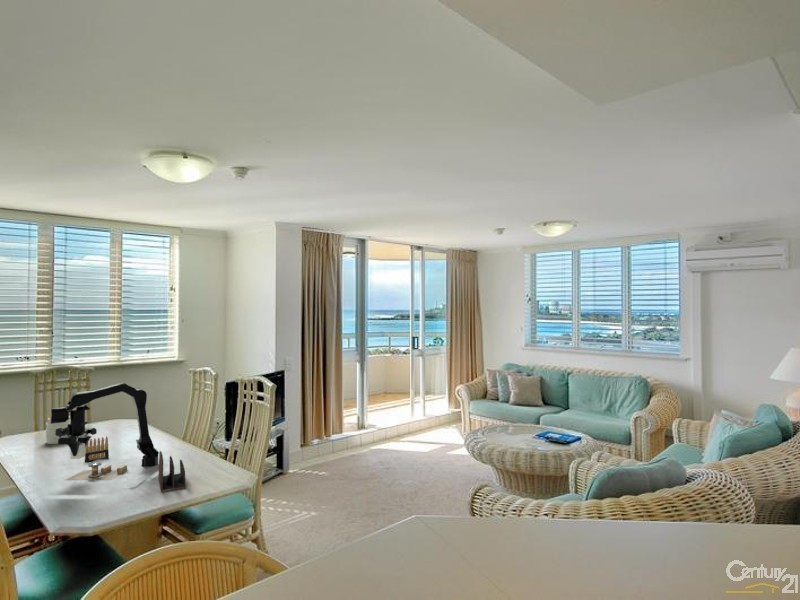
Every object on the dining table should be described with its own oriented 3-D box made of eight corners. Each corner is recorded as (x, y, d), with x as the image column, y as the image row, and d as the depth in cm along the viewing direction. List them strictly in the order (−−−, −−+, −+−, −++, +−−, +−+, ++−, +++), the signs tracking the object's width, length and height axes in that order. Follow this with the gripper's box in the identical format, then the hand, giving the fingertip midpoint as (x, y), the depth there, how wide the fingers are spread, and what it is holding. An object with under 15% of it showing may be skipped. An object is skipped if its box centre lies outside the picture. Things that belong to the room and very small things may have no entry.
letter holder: (160, 493, 211) (160, 460, 212) (158, 479, 229) (158, 448, 229) (185, 489, 216) (185, 456, 216) (181, 475, 234) (181, 445, 234)
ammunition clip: (85, 463, 252) (85, 440, 252) (84, 462, 254) (84, 439, 254) (108, 459, 259) (109, 436, 259) (108, 458, 261) (108, 435, 261)
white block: (84, 456, 228) (84, 443, 228) (79, 458, 224) (79, 445, 224) (76, 456, 228) (76, 443, 228) (70, 458, 224) (70, 445, 224)
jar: (41, 445, 287) (41, 414, 287) (51, 439, 299) (51, 410, 299) (66, 443, 290) (66, 413, 290) (75, 438, 302) (75, 409, 302)
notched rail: (127, 470, 237) (127, 464, 237) (121, 473, 232) (121, 468, 232) (107, 470, 237) (107, 464, 237) (100, 473, 232) (100, 468, 232)
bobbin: (103, 473, 232) (103, 462, 232) (97, 477, 226) (97, 465, 226) (92, 473, 232) (92, 462, 232) (85, 477, 226) (85, 465, 226)
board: (127, 472, 237) (127, 469, 237) (110, 483, 223) (110, 479, 223) (84, 473, 237) (84, 469, 237) (64, 483, 223) (64, 480, 223)
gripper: (74, 416, 235) (74, 448, 235) (45, 425, 217) (45, 461, 217) (97, 415, 235) (97, 448, 235) (70, 425, 217) (70, 461, 216)
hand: (77, 454), depth 226 cm, fingers closed on white block, 4 cm apart
